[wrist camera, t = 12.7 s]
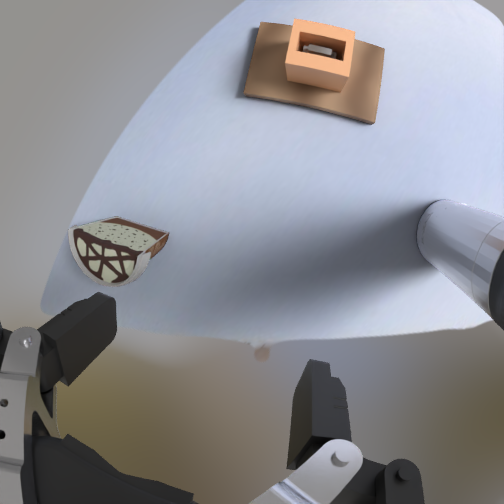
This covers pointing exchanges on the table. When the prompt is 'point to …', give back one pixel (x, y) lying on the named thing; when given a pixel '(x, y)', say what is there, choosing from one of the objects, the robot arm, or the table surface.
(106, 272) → the food container
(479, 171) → the table surface
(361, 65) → the base board
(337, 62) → the orange open box
